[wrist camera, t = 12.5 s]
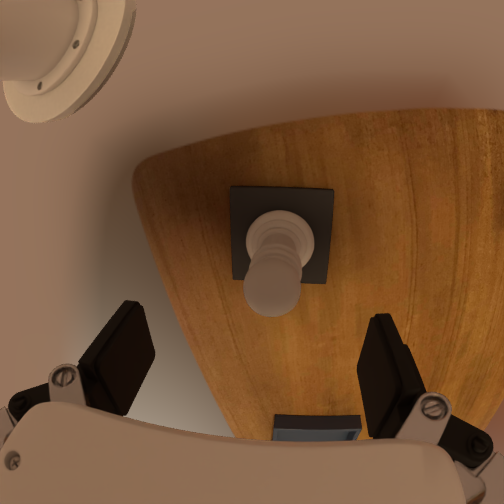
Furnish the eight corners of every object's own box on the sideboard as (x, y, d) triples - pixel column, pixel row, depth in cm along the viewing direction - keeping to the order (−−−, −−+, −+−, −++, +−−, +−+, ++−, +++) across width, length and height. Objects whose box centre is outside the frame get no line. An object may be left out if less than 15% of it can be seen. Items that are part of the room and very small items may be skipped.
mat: (230, 185, 23) (229, 187, 22) (333, 189, 22) (334, 190, 21) (233, 276, 26) (232, 279, 25) (325, 281, 25) (326, 284, 24)
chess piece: (251, 273, 25) (231, 342, 17) (242, 211, 23) (213, 259, 15) (315, 268, 24) (324, 339, 16) (311, 205, 22) (322, 251, 14)
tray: (275, 414, 33) (273, 428, 31) (360, 415, 32) (362, 428, 30) (270, 459, 39) (269, 470, 37) (338, 460, 37) (338, 471, 35)
